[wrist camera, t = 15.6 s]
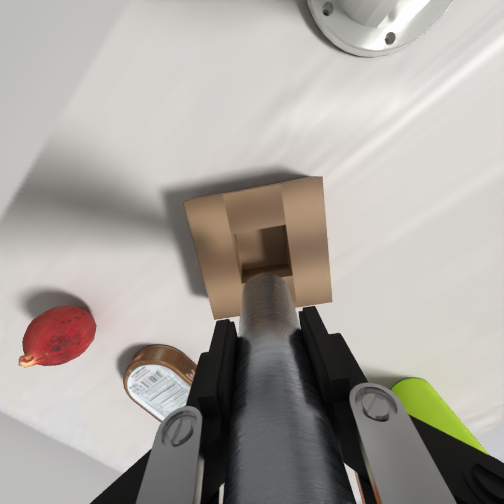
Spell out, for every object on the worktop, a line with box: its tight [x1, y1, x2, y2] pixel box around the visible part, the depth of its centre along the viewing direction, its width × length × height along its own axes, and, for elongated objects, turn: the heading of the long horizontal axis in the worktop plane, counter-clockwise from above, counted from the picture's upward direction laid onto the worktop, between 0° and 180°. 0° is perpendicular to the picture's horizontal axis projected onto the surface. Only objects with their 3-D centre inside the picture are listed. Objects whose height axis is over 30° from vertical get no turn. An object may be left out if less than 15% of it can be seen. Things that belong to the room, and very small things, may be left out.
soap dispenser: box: [391, 378, 489, 455], centre depth 22 cm, size 6×7×20 cm
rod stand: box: [183, 176, 332, 320], centre depth 24 cm, size 12×12×4 cm
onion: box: [19, 306, 96, 368], centre depth 25 cm, size 6×6×8 cm
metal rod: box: [223, 273, 356, 504], centre depth 8 cm, size 3×3×14 cm
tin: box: [123, 345, 197, 423], centre depth 31 cm, size 15×3×8 cm
